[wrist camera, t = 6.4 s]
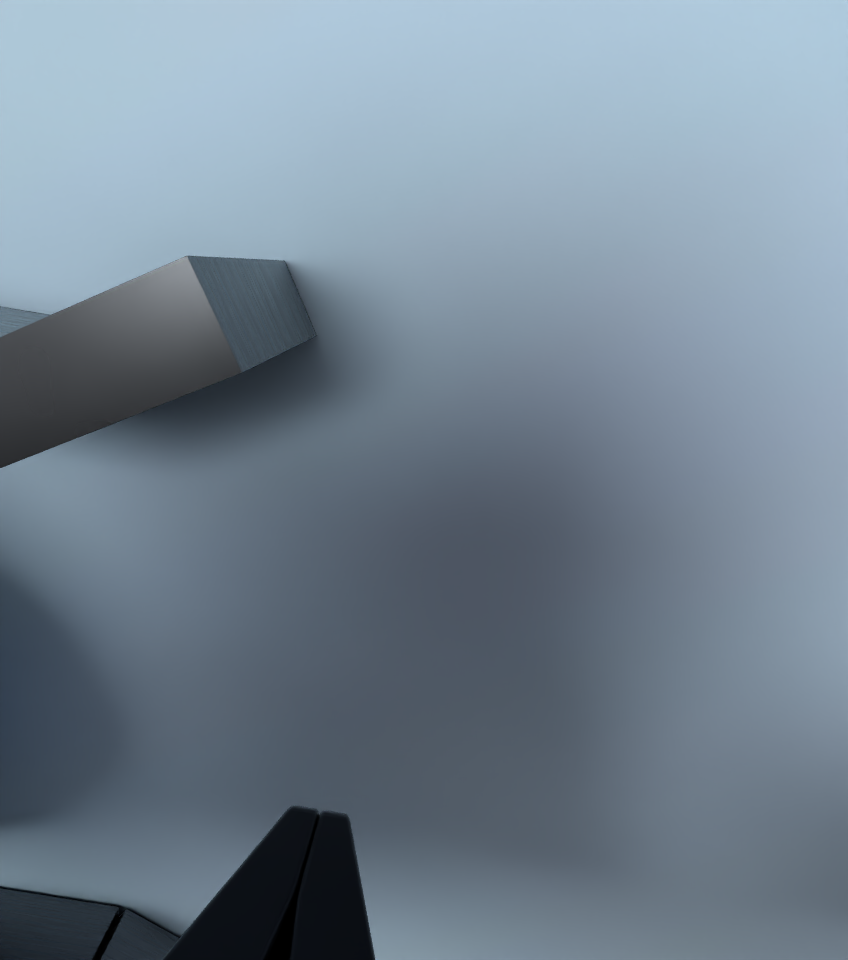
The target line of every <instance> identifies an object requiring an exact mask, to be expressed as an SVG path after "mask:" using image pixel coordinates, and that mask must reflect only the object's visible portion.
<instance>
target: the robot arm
mask: <svg viewBox="0 0 848 960" xmlns="http://www.w3.org/2000/svg"><path fill="white" fill-rule="evenodd" d="M162 960H375V955H374V949H373V944H372V938H371V933H370V927H369V922H368V916H367V911H366V905H365V900H364V895H363V889H362V884H361V878H360V873H359V867H358V862H357V856H356V851H355V845H354V840H353V834H352V829H351V823H350V819H349V817H348V815H346V814H344V813H338V812H332V811H322V812H321V813H320V815H319V811H318V810H316V809H314V808H308V807H302V806H292V807H290V808H289V809H288V810H287V811H286V812H285V813H284V814H283V816H282V817H281V818H280V819H279V820H278V822H277V823H276V824H275V825H274V826H273V828H272V829H271V830H270V831H269V832H268V834H267V835H266V836H265V837H264V838H263V840H262V841H261V842H260V843H259V844H258V845H257V847H256V848H255V849H254V850H253V851H252V853H251V854H250V855H249V856H248V857H247V859H246V860H245V861H244V862H243V863H242V865H241V866H240V867H239V868H238V869H237V871H236V872H235V873H234V874H233V875H232V877H231V878H230V879H229V880H228V881H227V882H226V884H225V885H224V886H223V887H222V888H221V890H220V891H219V892H218V893H217V894H216V896H215V897H214V898H213V899H212V900H211V902H210V903H209V904H208V905H207V906H206V908H205V909H204V910H203V911H202V912H201V914H200V915H199V916H198V917H197V918H196V920H195V921H194V922H193V923H192V924H191V925H190V927H189V928H188V929H187V930H186V931H185V933H184V934H183V935H182V936H181V937H180V939H179V940H178V941H177V942H176V943H175V945H174V946H173V947H172V948H171V949H170V951H169V952H168V953H167V954H166V955H165V957H164V958H163V959H162Z"/></svg>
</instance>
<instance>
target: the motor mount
mask: <svg viewBox="0 0 848 960" xmlns="http://www.w3.org/2000/svg"><path fill="white" fill-rule="evenodd" d="M315 336H316V333H315V331H314V329H313V326H312V324H311V322H310V319H309V317H308V315H307V312H306V310H305V307H304V305H303V303H302V300H301V298H300V296H299V293H298V291H297V289H296V286H295V284H294V282H293V279H292V277H291V275H290V272H289V270H288V268H287V265H286V263H285V261H282V260H262V259H242V258H221V257H201V256H185V257H183V258H181V259H178V260H176V261H174V262H171V263H169V264H167V265H164V266H162V267H160V268H158V269H155V270H153V271H151V272H148V273H146V274H144V275H142V276H139V277H137V278H135V279H132V280H130V281H128V282H126V283H123V284H121V285H119V286H116V287H114V288H112V289H109V290H107V291H105V292H103V293H100V294H98V295H96V296H93V297H91V298H89V299H87V300H84V301H82V302H80V303H77V304H75V305H73V306H71V307H68V308H66V309H64V310H61V311H59V312H57V313H55V314H52V315H46V314H40V313H34V312H28V311H22V310H16V309H11V308H5V307H0V468H2V467H5V466H7V465H10V464H12V463H15V462H17V461H20V460H22V459H25V458H27V457H30V456H32V455H35V454H37V453H40V452H43V451H45V450H48V449H50V448H53V447H55V446H58V445H60V444H63V443H65V442H68V441H70V440H73V439H75V438H78V437H80V436H83V435H86V434H88V433H91V432H93V431H96V430H98V429H101V428H103V427H106V426H108V425H111V424H113V423H116V422H118V421H121V420H124V419H126V418H129V417H131V416H134V415H136V414H139V413H141V412H144V411H146V410H149V409H151V408H154V407H156V406H159V405H161V404H164V403H167V402H169V401H172V400H174V399H177V398H179V397H182V396H184V395H187V394H189V393H192V392H194V391H197V390H199V389H202V388H204V387H207V386H210V385H212V384H215V383H217V382H220V381H222V380H225V379H227V378H230V377H232V376H235V375H237V374H240V373H242V372H244V371H246V370H248V369H250V368H252V367H254V366H257V365H259V364H261V363H263V362H265V361H267V360H269V359H271V358H273V357H275V356H277V355H279V354H281V353H283V352H285V351H287V350H289V349H291V348H293V347H295V346H297V345H299V344H301V343H303V342H305V341H307V340H309V339H311V338H313V337H315ZM179 939H180V938H178V937H176V936H174V935H172V934H171V933H169V932H167V931H165V930H163V929H162V928H160V927H158V926H156V925H154V924H153V923H151V922H149V921H147V920H146V919H144V918H142V917H140V916H138V915H137V914H135V913H133V912H131V911H129V910H128V909H126V910H125V911H124V912H123V913H122V914H121V915H120V917H119V907H115V906H108V905H102V904H96V903H89V902H83V901H77V900H70V899H64V898H58V897H51V896H45V895H38V894H32V893H26V892H19V891H13V890H7V889H0V960H162V959H163V958H164V957H165V955H166V954H167V953H168V952H169V951H170V949H171V948H172V947H173V946H174V945H175V943H176V942H177V941H178V940H179Z"/></svg>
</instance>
